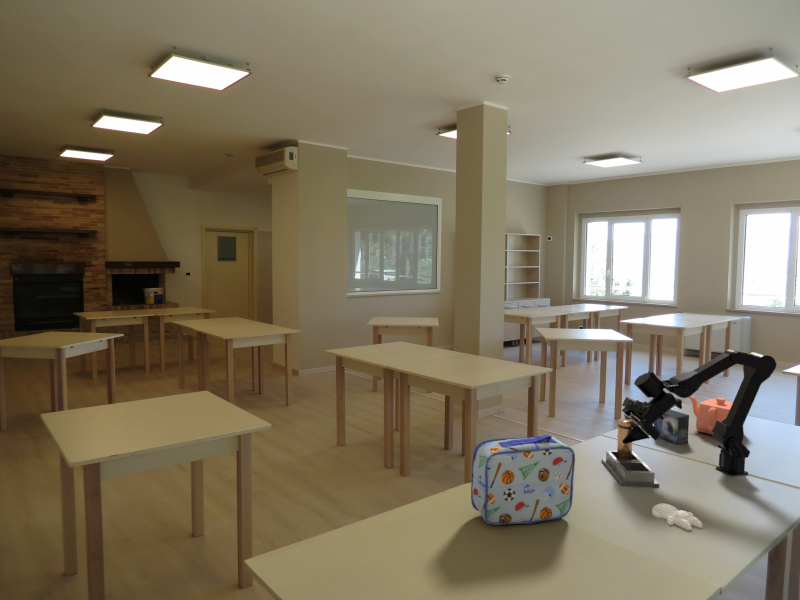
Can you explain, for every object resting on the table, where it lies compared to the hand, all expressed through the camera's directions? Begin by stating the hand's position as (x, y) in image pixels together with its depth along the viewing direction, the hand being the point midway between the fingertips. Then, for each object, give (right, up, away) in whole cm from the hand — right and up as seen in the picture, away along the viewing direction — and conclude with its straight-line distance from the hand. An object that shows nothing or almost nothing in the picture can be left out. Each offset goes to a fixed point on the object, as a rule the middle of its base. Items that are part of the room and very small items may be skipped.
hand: (620, 440), depth 169 cm
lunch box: (-39, -12, -32) cm, 52 cm away
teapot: (+52, -7, +38) cm, 64 cm away
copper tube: (+1, -7, 0) cm, 7 cm away
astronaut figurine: (+1, -12, -32) cm, 35 cm away
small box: (+31, -7, +28) cm, 42 cm away
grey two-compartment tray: (+1, -9, -4) cm, 10 cm away
